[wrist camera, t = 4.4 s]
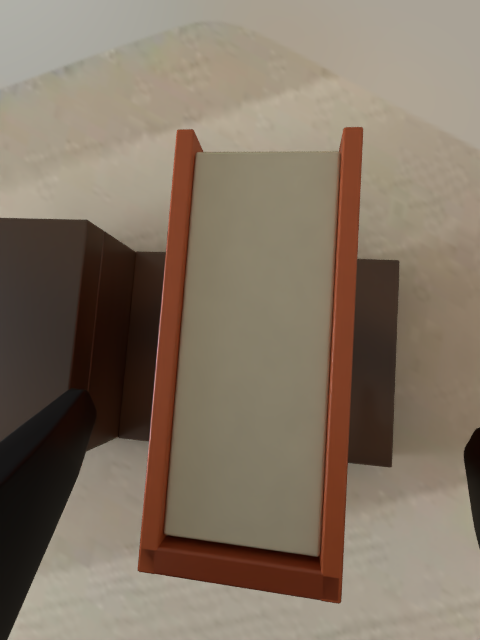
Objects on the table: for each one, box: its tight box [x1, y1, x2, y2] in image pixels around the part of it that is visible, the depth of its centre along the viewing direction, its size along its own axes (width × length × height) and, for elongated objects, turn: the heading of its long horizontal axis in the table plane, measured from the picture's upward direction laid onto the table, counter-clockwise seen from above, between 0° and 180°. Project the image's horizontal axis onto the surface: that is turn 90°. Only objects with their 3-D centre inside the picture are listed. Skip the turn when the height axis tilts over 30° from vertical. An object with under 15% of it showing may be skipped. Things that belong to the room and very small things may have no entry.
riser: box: [0, 218, 399, 467], centre depth 15 cm, size 8×18×6 cm, turn 86°
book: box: [138, 127, 363, 603], centre depth 11 cm, size 7×3×10 cm, turn 176°
